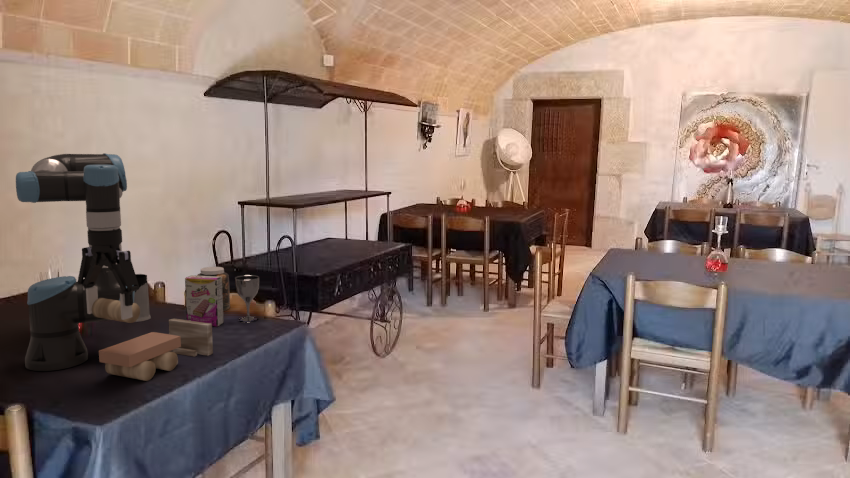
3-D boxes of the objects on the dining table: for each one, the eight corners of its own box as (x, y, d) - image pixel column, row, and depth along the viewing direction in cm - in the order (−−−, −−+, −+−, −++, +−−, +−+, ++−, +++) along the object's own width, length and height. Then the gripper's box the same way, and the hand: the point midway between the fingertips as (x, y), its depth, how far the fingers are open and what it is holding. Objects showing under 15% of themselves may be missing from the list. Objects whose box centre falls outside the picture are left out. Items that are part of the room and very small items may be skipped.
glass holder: (141, 322, 217) (139, 279, 214) (103, 320, 219) (100, 277, 217) (156, 315, 225) (154, 274, 223) (119, 313, 227) (117, 272, 225)
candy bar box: (186, 325, 213) (183, 277, 211) (192, 321, 218) (190, 274, 216) (218, 327, 212) (216, 279, 210) (224, 323, 217) (222, 275, 215)
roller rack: (144, 384, 162) (142, 349, 160) (102, 376, 167) (100, 343, 165) (212, 353, 186) (211, 323, 184) (174, 347, 191) (173, 318, 189)
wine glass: (235, 317, 224) (234, 275, 222) (258, 315, 227) (257, 274, 225) (237, 323, 217) (236, 280, 215) (261, 321, 219) (260, 279, 217)
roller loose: (120, 316, 155) (131, 299, 158) (88, 311, 160) (99, 294, 162) (132, 326, 159) (143, 309, 162) (101, 321, 163) (111, 304, 166)
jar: (191, 312, 231) (190, 271, 228) (203, 304, 242) (202, 265, 240) (224, 312, 230) (222, 272, 228) (234, 304, 242) (233, 266, 240)
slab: (129, 367, 159) (128, 355, 159) (99, 361, 163) (98, 350, 162) (180, 346, 176) (180, 336, 176) (152, 342, 180) (152, 331, 179)
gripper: (152, 229, 155) (156, 317, 158) (84, 223, 164) (89, 306, 167) (127, 233, 148) (132, 325, 151) (57, 226, 157) (63, 313, 160)
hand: (109, 315), depth 159 cm, fingers closed on roller loose, 11 cm apart
